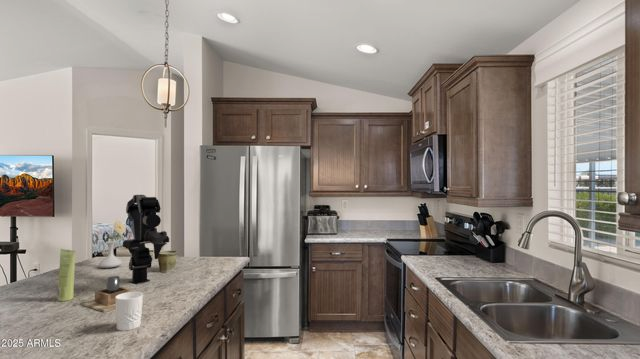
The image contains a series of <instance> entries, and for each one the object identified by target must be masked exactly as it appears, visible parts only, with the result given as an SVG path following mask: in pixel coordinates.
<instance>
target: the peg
mask: <svg viewBox="0 0 640 359" xmlns="http://www.w3.org/2000/svg"><path fill="white" fill-rule="evenodd" d="M119 286H120V275H112V276H108V277H107V278H106V289H107V294H111V293H115V292H119Z"/></svg>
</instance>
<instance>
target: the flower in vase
mask: <svg viewBox="0 0 640 359" xmlns="http://www.w3.org/2000/svg"><path fill="white" fill-rule="evenodd" d="M113 230H114V231H115V235H114V236H109V235H107V239H109V240H107V241H106V242H105V244H106V245H107V246H108V254H107V256H106V257H105V258H103V260H101V261H100V262H99V263H98V267H99V268H103V269H109V268H110V269H111V268H116V267H120V266H122V265H123V261H122V260H121V259H119V257H117V256H116V255H115V253H114V247H115V244H117V242H118V241H117V240H115V238H116V239H118V240H119V239H121V238H123V236H122V235H123V234H124V233H126V232H127V231H126V230H127V228H126V225H125V223H123V222H122V221H120V220H119V221H118V220H116V221H115V222H114V223H113Z"/></svg>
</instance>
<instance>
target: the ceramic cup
mask: <svg viewBox="0 0 640 359" xmlns="http://www.w3.org/2000/svg"><path fill="white" fill-rule="evenodd" d="M178 254H179V252H178V250H174V249H172V250H169V249H168V250H161V251H160V253H159V256H158V258H157V261H158V268H159V272H160V273H167V274H168V273H172V272H174V271H175V268H176V263H177V259H178Z"/></svg>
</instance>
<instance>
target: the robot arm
mask: <svg viewBox="0 0 640 359" xmlns="http://www.w3.org/2000/svg"><path fill="white" fill-rule="evenodd" d="M125 212H126V214H127V219H129V221H131V223H132V233H133V234H132V235H133V238H132V239H131V238H130V239H124V241H123V242H122V247H123V248H125V249H126V250H128V251H129V253H130V254H131V256H130V259H129V263H128V270H129V271H132V274H131V277H132V278H131V279H130V280H129V281H128V283H132V284H136V285H138V284H143V283H145V282H147V283H148V282H150V281H151V279H148V269H151V268H152V264H153V263H152V262H153V257H152V254H151V252H150V251H151V250H150V248H149V247H147V246H146V244H152V245H153V256H154V259H155V260H158V256H159V253H160V251H162V248H163V247H164V246H166V245H168V244H167V243H170V237H169V236H168V234H167V233H168V232H166V231H165V230H162V231H159V232H158V228H157V227H159V225H160V224H161V222H162V219H161V217H160V215H158V214H159V213H161V206H160V201H159V199H157V197H156V196H146V195H145V194H134V195H133V196H132V198H131V199H130V200H129V201H127V204H126V208H125ZM157 213H158V214H157Z"/></svg>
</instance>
